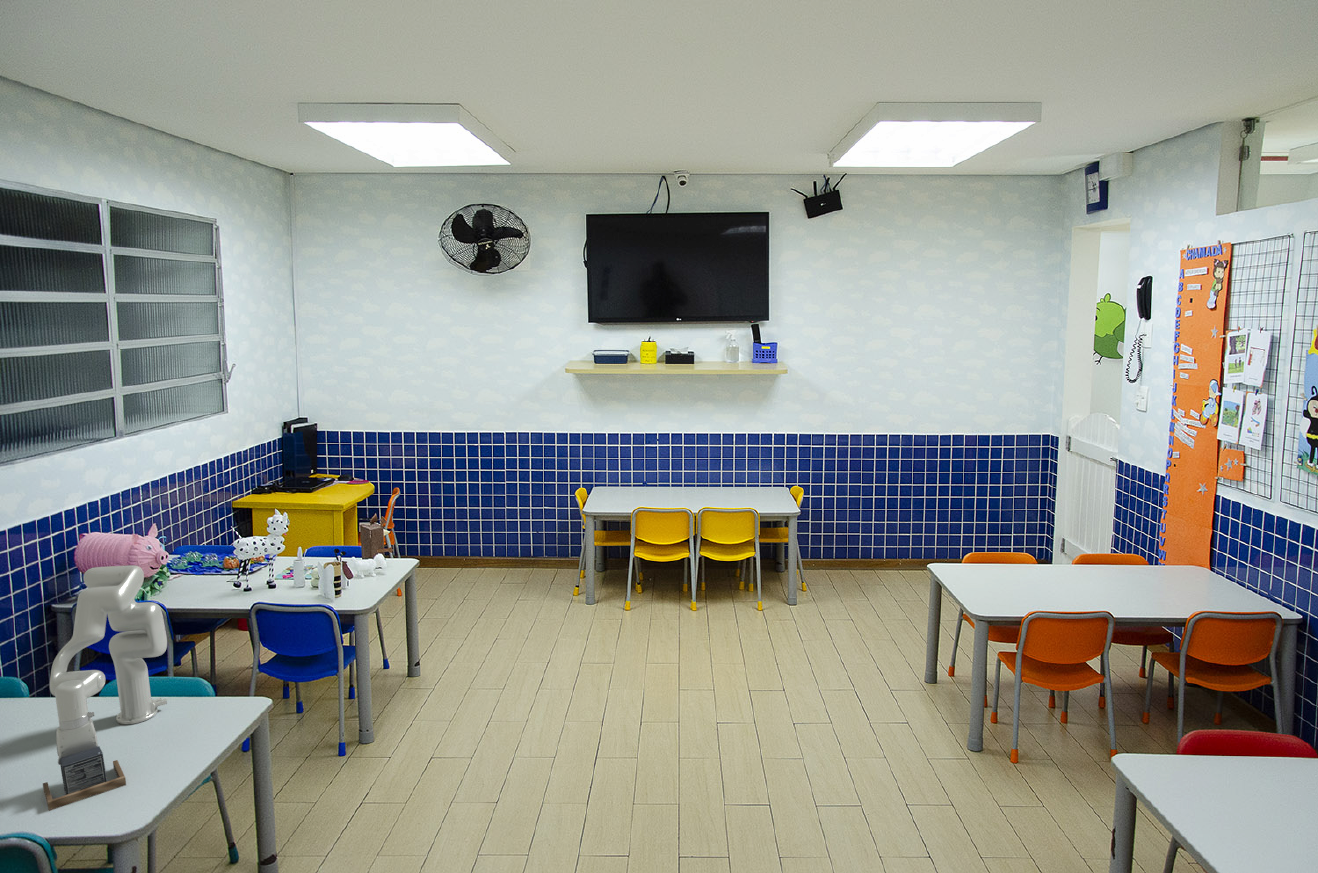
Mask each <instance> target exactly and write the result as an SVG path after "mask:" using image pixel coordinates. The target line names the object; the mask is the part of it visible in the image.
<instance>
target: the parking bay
mask: <svg viewBox="0 0 1318 873" xmlns="http://www.w3.org/2000/svg"><path fill="white" fill-rule="evenodd" d="M112 765H113V770H114V772H115V775H116V776H117V777H116V778H114V779H113V778H112V779H111V780H107V782H104V783H101V784H98V785H95V786H92V787H89V788H86V789H83V790H80V791H77V792H74V793H71V794H68V795H66V794H65V795H61V796H58V797H55V798H53V797H52V793H51V790H50V789H51V788H50V786H49V783H48V781H47V782H44V783H42V788H43V793H44V798H45V800H46V804H47V808H48V811H52V810H55V809H58V808H61V807H64V806H68V805H70V804H73V803H76V802H79V801H81V800H82V801H84V800H85V799H88V798H92V797H94V796H98V795H99V794H103V793H107V792H109V791H112V790H114V789H118V788H121V787H124V786H127V781H126V776H125V774H124V771H123V769H122V767H121V765H120V763H119V760H118V759H115V760H114V761H112Z"/></svg>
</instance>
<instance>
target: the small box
mask: <svg viewBox="0 0 1318 873" xmlns="http://www.w3.org/2000/svg"><path fill="white" fill-rule="evenodd" d="M59 760H60V766H59V767H60V771H61V780H62V784H63V790H64V793H65V795H68V794H71V793H74V792H77V791H80V790H83V789H86V788H89V787H92V786H95V785H98V784H101V783H104V782H107V781H108V778H107V773H106V767H105V766H106V765H105V758H104V752H103V750H102V749H101V746H99V745H98V747H96V748H93V749H89V750H86V751H83V752H80V753H77V754H74V755H70V756H67V757H63V758H60V759H59Z"/></svg>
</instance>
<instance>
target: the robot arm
mask: <svg viewBox="0 0 1318 873" xmlns="http://www.w3.org/2000/svg"><path fill="white" fill-rule="evenodd" d="M144 580H145V573H144V570H143V569H142V567H141V566H138V565H115V566H111V565H110V566H109V565H108V566H98V567H96V566H95V567H92V568H89V569H87V570H86V571H85V572H84V573H83V583H84V584H85V587H87V588H86V589H83V590H82V591H81V592H80V593H79V594H78V597H77V602H76V610H75V618H74V625H73V634H72V636H71V639H70V640H69V641H67V642H66V643H65V645H64V646H63V647H62V648H61V649H60V651H58V653H57V655H56V656H55V658H54V660H53V662H52V666H51V670H50V679H49V691H50V694H51V695H52V696H53V697H55V702H56V711H57V717H58V718H57V719H58V724H59V726H58V727H57V728H56V732H55V733H56V736H55V741H56V751H57V752H56V753H57V756H58V757H57V758H58V759H57V765H58V766H59V765H60V760H59V759H60V758H63V757H67V756H70V755H74V754H77V753H80V752H83V751H86V750H89V749H93V748H96V747H98V746H99V742H98V736H97V732H96V728H95V725H94V722H93V720H92V717H95V712H94V711H92V712H90V711H89V709H88V708H89V707H88V700H87V699H89V698H90V697H93V696H94V695H96V694H98V693H99V692H101V690H102V689H103V688H104V686H105V684H106V675H105V674H104V672H103V671H101V670H98V669H90V670H89V669H88V670H87V669H86V670H75V671H73V670H72V671H67V670H68V666H69V663H70V662H71V660H72V658H73V657H74V656H75V655H76V654H78V653H79V652H80V651H82V650H83V649H85V648H87V647H89V646H91V645H93V644H96V643H98V642H100V641H101V640H103V639H104V637H105V636H106V635H105V633H106V628H107V626H106V625H107V620H108V622H109V623H108V624H109V626H110V628H111V629H112V631H115V632H119V633H116V634H115V635H112V637H111V638H110V640H109V643H108V650H109V653H110V656H111V659H112V661H113V665H114V671H115V679H116V685H117V686H116V687H117V693H118V701H119V709H120V712H119V713H118V714H117V715H116V717H115V719H116V722H117V723H118V724H120V725H134V724H139V723H142V722H145V721H147V720H150V719H151V718H153V717H155V715H156V714H157V713H158V712H159V711H158V707H160V706H165V705H167V704H168V699H167V698H164V699H162V698H161V697H160V698H156V699H153V698H152V695H151V694H152V693H151V686H150V679H149V670H148V666H147V662H145V660H144V659H145V658H156V657H159V656H162V655H163V654H165V652H166V650H167V648H168V637H167V632H166V626H165V620H164V616H163V611H162V609H161V607H160V605H159V604H158V603H156V602H152V601H151V602H148V601H146V602H136V600H135V598H136V596H137V594H138V593H139V592H140V590H141V589H142V588H141V587H142V586H143V584H144ZM107 618H108V619H107Z"/></svg>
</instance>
